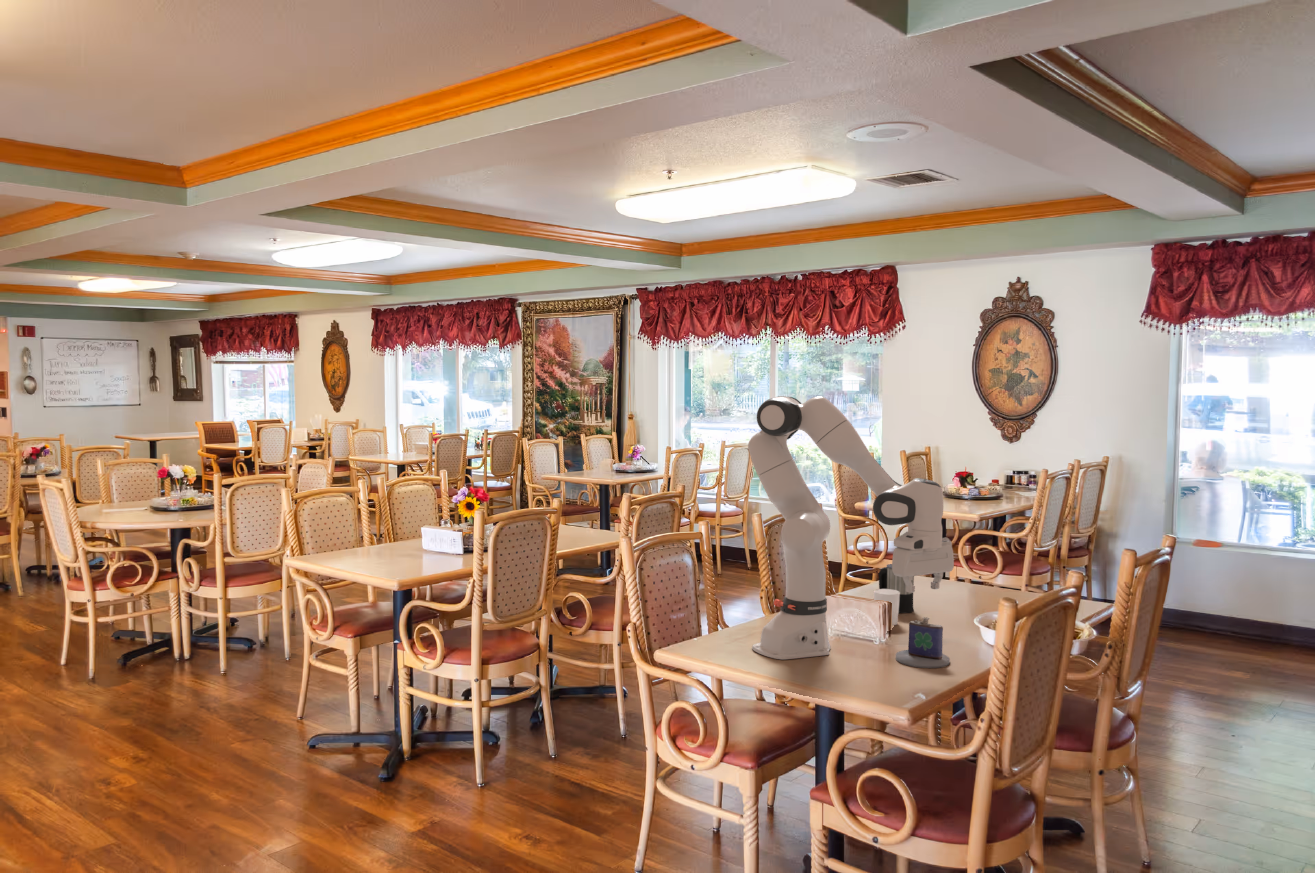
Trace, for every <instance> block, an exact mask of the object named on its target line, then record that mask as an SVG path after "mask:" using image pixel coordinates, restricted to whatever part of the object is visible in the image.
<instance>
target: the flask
mask: <svg viewBox="0 0 1315 873" xmlns="http://www.w3.org/2000/svg"><path fill="white" fill-rule="evenodd" d="M929 620H930V618H929V617H928V616H927V617H924V616H923V617H922V620H918V619H916V620H911V621H909V623H908V647H907V650H908V653H909V655H912V656H917V657H924V658H930V659H939V660H940V659H941V658H942V654H943V645H944V644H943V634H944V633H943V630H944V626H943V625H942V624H934V623H929Z"/></svg>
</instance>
